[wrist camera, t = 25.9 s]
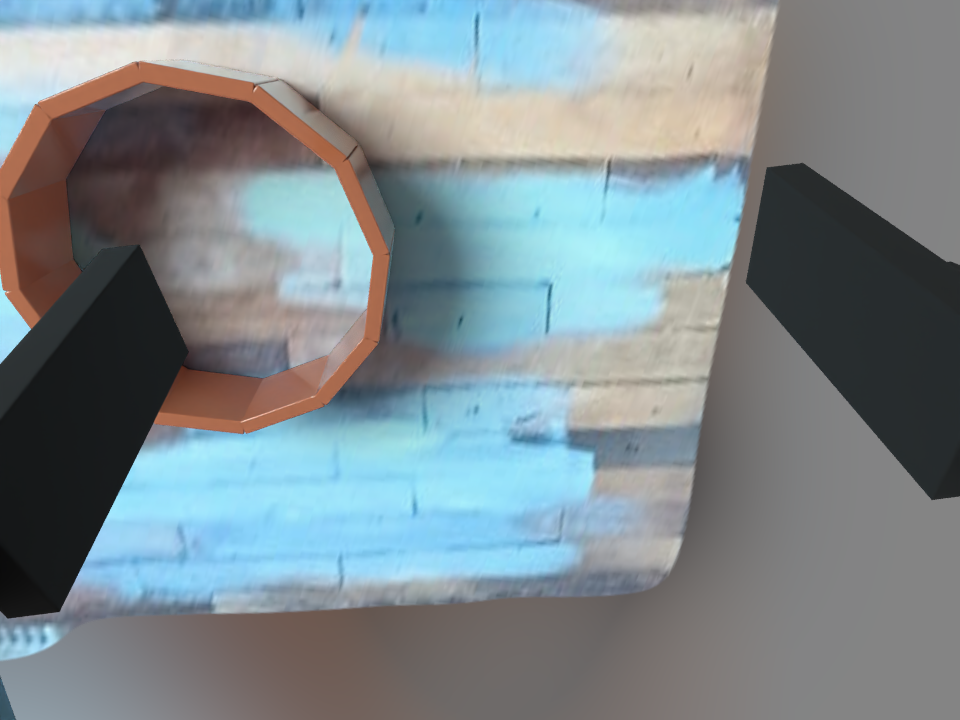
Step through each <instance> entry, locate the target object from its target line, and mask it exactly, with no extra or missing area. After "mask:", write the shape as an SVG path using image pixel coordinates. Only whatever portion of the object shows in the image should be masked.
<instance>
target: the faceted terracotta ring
mask: <svg viewBox="0 0 960 720" xmlns="http://www.w3.org/2000/svg"><path fill="white" fill-rule="evenodd" d="M164 86H166V87H171V88H177V89H182V90H187V91H193V92H198V93H204V94H209V95H214V96H220V97H225V98H231V99H236V100H241V101H247V102H251V103H252V104H253V105H254V106H256V107H257V108H258V109H260V110H261V111H262V112H263V113H265V114H266V115H267V116H268V117H270V118H271V119H272V120H273V121H275V122H276V123H277V124H278V125H280V126H281V127H282V128H284V129H285V130H286V131H287V132H289V133H290V134H291V135H292V136H294V137H295V138H296V139H297V140H299V141H300V142H301V143H303V144H304V145H305V146H306V147H308V148H309V149H310V150H311V151H313V152H314V153H315V154H316V155H318V156H319V157H320V158H321V159H323V160H324V161H325V162H327V163H328V164H329V165H330V166H332V167H333V168H334V169H335V171H336V174H337V176H338V178H339V180H340V183H341V185H342V187H343V189H344V191H345V194H346V196H347V198H348V200H349V203H350V205H351V207H352V209H353V212H354V214H355V216H356V218H357V221H358V223H359V225H360V227H361V229H362V232H363V234H364V236H365V238H366V241H367V243H368V245H369V247H370V250H371V252H372V254H373V262H372V271H371V280H370V288H369V297H368V306H367V309H366V310H365V311H364V312H363V314H362V315H361V316H360V317H359V319H358V320H357V321H356V322H355V323H354V325H353V326H352V327H351V328H350V330H349V331H348V332H347V333H346V334H345V336H344V337H343V338H342V339H341V341H340V342H339V343H338V344H337V345H336V347H335V348H334V349H333V350H332V352H331V353H330V354H329V355H327V356H325V357H322V358H319V359H316V360H313V361H311V362H308V363H305V364H302V365H299V366H297V367H294V368H291V369H288V370H286V371H283V372H280V373H277V374H274V375H272V376H269V377H266V378H263V379H262V378H254V377H246V376H238V375H230V374H222V373H214V372H206V371H198V370H190V369H187V368H186V367H184V366H181V368H180V370H179V372H178V374H177V376H176V378H175V380H174V382H173V384H172V386H171V388H170V390H169V393H168V395H167V397H166V399H165V401H164V403H163V405H162V407H161V409H160V411H159V413H158V415H157V417H156V419H155V421H154V424H158V425H167V426H176V427H185V428H194V429H203V430H212V431H221V432H230V433H239V434H244V432H245V433H246V434H247V433H250V432H253V431H256V430H259V429H262V428H264V427H267V426H270V425H273V424H276V423H279V422H281V421H284V420H287V419H290V418H293V417H296V416H298V415H301V414H304V413H307V412H310V411H313V410H316V409H318V408H321V407H324V406H325V405H327V404H328V403H329V402H330V400H331V399H332V398H333V397H334V396H335V395H336V393H337V392H338V391H339V390H340V389H341V387H342V386H343V385H344V384H345V383H346V382H347V380H348V379H349V378H350V377H351V376H352V374H353V373H354V372H355V371H356V370H357V369H358V367H359V366H360V365H361V364H362V363H363V361H364V360H365V359H366V358H367V357H368V356H369V354H370V353H371V352H372V351H373V350H374V348H375V347H376V346H377V345H378V342H379V341H380V335H381V330H382V324H383V318H384V312H385V306H386V299H387V291H388V283H389V275H390V268H391V260H392V252H393V244H394V236H395V229H394V227H395V226H394V224H393V221H392V219H391V217H390V214H389V212H388V210H387V207H386V205H385V202H384V200H383V198H382V195H381V193H380V191H379V188H378V186H377V183H376V181H375V179H374V176H373V174H372V172H371V169H370V167H369V165H368V162H367V160H366V157H365V155H364V153H363V150H362V148H361V146H360V145H357V144H358V142H357V141H356V140H355V139H353V138H352V137H351V136H350V135H349V134H347V133H346V132H345V131H344V130H343V129H341V128H340V127H339V126H338V125H336V124H335V123H334V122H333V121H332V120H330V119H329V118H328V117H327V116H325V115H324V114H323V113H322V112H321V111H319V110H318V109H317V108H316V107H314V106H313V105H312V104H311V103H310V102H308V101H307V100H306V99H305V98H303V97H302V96H301V95H300V94H299V93H297V92H296V91H295V90H294V89H292V88H291V87H290V86H289V85H288V84H286V83H285V82H284V81H282V80H280V81H279V78H276V77H270V76H265V75H260V74H255V73H250V72H244V71H239V70H234V69H229V68H223V67H218V66H213V65H208V64H203V63H197V62H192V61H187V60H156V61H139V62H132V63H130V64H128V65H125V66H123V67H120V68H118V69H116V70H113V71H111V72H108V73H106V74H104V75H101V76H99V77H96V78H94V79H92V80H89V81H87V82H84V83H82V84H79V85H77V86H75V87H72V88H70V89H67V90H65V91H63V92H60V93H58V94H55V95H53V96H51V97H48V98H46V99H43V100H41V101H39V102H38V104H35V105H34V107H33V109H32V111H31V113H30V114H29V116H28V118H27V120H26V122H25V124H24V126H23V128H22V129H21V131H20V133H19V135H18V137H17V139H16V141H15V142H14V144H13V146H12V148H11V150H10V152H9V154H8V155H7V157H6V159H5V161H4V163H3V165H2V167H1V169H0V274H1V280H2V287H3V290H5V291H7V292H5V295H6V296H7V298H8V299H9V300H10V302H11V303H12V304H13V306H14V307H15V308H16V310H17V311H18V312H19V314H20V315H21V316H22V318H23V319H24V320H25V322H26V323H27V324H28V326H29V327H30V328H31V329H32V328H33V327H34V326H35V325H36V323H37V322H38V321H39V320H40V319H41V318H42V317H43V315H44V314H45V313H46V312H47V311H48V310H49V309H50V308H51V306H52V305H53V304H54V303H55V302H56V301H57V300H58V299H59V297H60V296H61V295H62V294H63V293H64V292H65V291H66V290H67V288H68V287H69V286H70V285H71V284H72V283H73V282H74V281H75V279H76V278H77V277H78V276H79V275H80V274H81V273H82V271H81V269H80V268H79V266H78V265H77V263H76V262H75V260H74V259H73V249H72V239H71V228H70V217H69V207H68V196H67V185H66V178H67V177H68V175H69V173H70V171H71V170H72V168H73V166H74V164H75V163H76V161H77V159H78V158H79V156H80V154H81V152H82V151H83V149H84V147H85V145H86V144H87V142H88V140H89V139H90V137H91V135H92V133H93V132H94V130H95V128H96V126H97V125H98V123H99V121H100V120H101V118H102V116H103V114H104V113H105V111H106V110H107V109H110V108H112V107H115V106H117V105H120V104H122V103H125V102H127V101H129V100H132V99H134V98H137V97H139V96H142V95H144V94H147V93H149V92H151V91H154V90H156V89H159V88H161V87H164Z"/></svg>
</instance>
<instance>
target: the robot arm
mask: <svg viewBox="0 0 960 720" xmlns="http://www.w3.org/2000/svg"><path fill="white" fill-rule="evenodd" d="M746 283H747V284H748V285H749V287H750V288H751V289H752V290H753V291H754V293H755V294H756V295H757V296H758V297H759V298H760V299H761V301H762V302H763V303H764V304H765V305H766V307H767V308H768V309H769V310H770V311H771V312H772V313H773V315H775V317H776V318H777V319H778V321H779V322H780V323H781V324H782V325H783V326H784V327H785V329H786V330H787V331H788V332H789V333H790V335H791V336H792V337H793V338H794V339H795V340H796V342H797V343H798V344H799V345H800V346H801V348H802V349H803V350H804V351H805V352H806V353H807V355H808V356H809V357H810V358H811V359H812V360H813V362H814V363H815V364H816V365H817V366H818V367H819V369H820V370H821V371H822V372H823V373H824V374H825V376H826V377H827V378H828V379H829V380H830V381H831V383H832V384H833V385H834V386H835V387H836V388H837V389H838V391H839V392H840V393H841V394H842V395H843V397H844V398H845V399H846V400H847V401H848V402H849V404H850V405H851V406H852V407H853V408H854V410H855V411H856V412H857V413H858V414H859V415H860V416H861V418H862V419H863V420H864V421H865V422H866V424H867V425H868V426H869V427H870V428H871V429H872V431H873V432H874V433H875V434H876V435H877V436H878V438H879V439H880V440H881V441H882V442H883V443H884V445H885V446H886V447H887V448H888V449H889V450H890V452H891V453H892V454H893V455H894V456H895V457H896V459H897V460H898V461H899V462H900V463H901V464H902V466H903V467H904V468H905V469H906V470H907V472H908V473H909V474H910V475H911V476H912V477H913V478H914V480H915V481H916V482H917V483H918V484H919V486H920V487H921V488H922V489H923V490H924V491H925V493H926V494H927V495H928V496H929V497H930V498H931V500H935V499H943V498H951V497H958V496H960V265H958V264H955V263H953V262H946V261H944V260H943V259H941V258H940V257H938V256H937V255H936V254H934V253H933V252H931V251H929V250H928V249H927V248H925V247H924V246H922V245H921V244H920V243H918V242H916V241H915V240H914V239H912V238H911V237H909V236H908V235H907V234H905V233H904V232H902V231H901V230H899V229H898V228H896V227H895V226H894V225H892V224H890V223H889V222H888V221H886V220H885V219H883V218H882V217H880V216H879V215H878V214H876V213H874V212H873V211H872V210H870V209H869V208H867V207H866V206H865V205H863V204H862V203H860V202H859V201H857V200H856V199H854V198H853V197H851V196H850V195H849V194H847V193H846V192H844V191H843V190H841V189H840V188H838V187H837V186H835V185H834V184H833V183H831V182H830V181H828V180H827V179H825V178H824V177H822V176H821V175H820V174H818V173H817V172H815V171H814V170H812V169H811V168H809V167H808V166H806V165H805V164H803V163H800V164H792V165H784V166H776V167H767V170H766V175H765V180H764V186H763V192H762V197H761V203H760V208H759V214H758V219H757V225H756V231H755V236H754V241H753V247H752V252H751V258H750V263H749V269H748V274H747V280H746ZM188 352H189V351H188V349H187V347H186V345H185V343H184V341H183V338H182V336H181V334H180V332H179V330H178V327H177V325H176V323H175V321H174V319H173V317H172V314H171V312H170V310H169V308H168V306H167V303H166V301H165V299H164V297H163V295H162V293H161V290H160V288H159V286H158V284H157V282H156V280H155V277H154V275H153V273H152V271H151V269H150V266H149V264H148V262H147V260H146V258H145V256H144V253H143V251H142V249H141V247H140V245H131V246H123V247H115V248H107V249H102V250H101V251H100V252H99V253H98V255H97V256H96V257H95V258H94V259H93V260H92V261H91V262H90V264H89V265H88V266H87V267H86V268H85V269H84V270H83V271H82V273H81V274H80V275H79V276H78V277H77V278H76V279H75V281H74V282H73V283H72V284H71V285H70V286H69V287H68V288H67V290H66V291H65V292H64V293H63V294H62V295H61V296H60V297H59V299H58V300H57V301H56V302H55V303H54V304H53V305H52V306H51V308H50V309H49V310H48V311H47V312H46V313H45V314H44V315H43V317H42V318H41V319H40V320H39V321H38V322H37V323H36V325H35V326H34V327H33V328H32V329H31V330H30V331H29V332H28V334H27V335H26V336H25V337H24V338H23V339H22V340H21V341H20V343H19V344H18V345H17V346H16V347H15V348H14V349H13V350H12V352H11V353H10V354H9V355H8V356H7V357H6V358H5V359H4V361H3V362H2V363H1V364H0V611H1V612H2V613H3V614H4V615H5V616H6V617H7V618H16V617H23V616H31V615H39V614H47V613H55V612H60V610H61V608H62V606H63V604H64V602H65V600H66V598H67V596H68V594H69V592H70V590H71V588H72V586H73V584H74V582H75V580H76V578H77V576H78V574H79V572H80V569H81V567H82V565H83V563H84V561H85V559H86V557H87V555H88V553H89V551H90V549H91V547H92V545H93V543H94V541H95V539H96V537H97V535H98V533H99V531H100V529H101V527H102V525H103V523H104V521H105V519H106V517H107V515H108V513H109V511H110V509H111V507H112V505H113V503H114V501H115V499H116V497H117V495H118V493H119V491H120V489H121V487H122V485H123V483H124V481H125V479H126V477H127V475H128V473H129V471H130V469H131V467H132V465H133V463H134V461H135V459H136V457H137V455H138V453H139V451H140V449H141V447H142V445H143V443H144V441H145V439H146V437H147V435H148V433H149V431H150V429H151V427H152V425H153V423H154V421H155V419H156V417H157V415H158V413H159V411H160V409H161V407H162V405H163V403H164V401H165V399H166V397H167V395H168V393H169V390H170V388H171V386H172V384H173V382H174V380H175V378H176V376H177V374H178V372H179V370H180V368H181V366H182V364H183V362H184V360H185V358H186V356H187V354H188ZM0 720H16V719H15V716H14V713H13V710H12V708H11V705H10V702H9V699H8V697H7V694H6V691H5V688H4V686H3V683H2V680H1V677H0Z"/></svg>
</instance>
